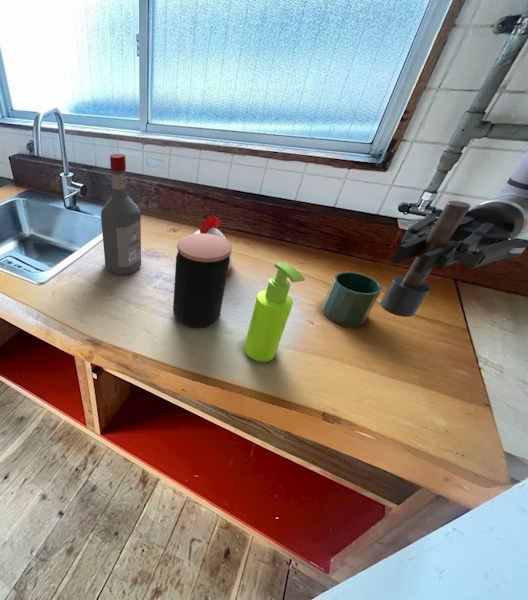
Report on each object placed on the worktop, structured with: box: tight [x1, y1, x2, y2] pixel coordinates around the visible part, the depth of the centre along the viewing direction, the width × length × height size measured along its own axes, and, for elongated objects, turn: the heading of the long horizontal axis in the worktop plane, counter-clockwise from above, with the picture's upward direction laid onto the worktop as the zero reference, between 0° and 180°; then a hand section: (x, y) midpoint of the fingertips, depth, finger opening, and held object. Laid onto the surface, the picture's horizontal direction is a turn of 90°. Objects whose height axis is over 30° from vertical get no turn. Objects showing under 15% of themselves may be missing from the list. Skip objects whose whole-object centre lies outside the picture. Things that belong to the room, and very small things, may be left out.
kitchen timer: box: [193, 214, 232, 275], centre depth 86 cm, size 14×14×15 cm
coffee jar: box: [172, 233, 233, 329], centre depth 69 cm, size 11×11×18 cm
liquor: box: [100, 153, 142, 276], centre depth 84 cm, size 9×9×30 cm
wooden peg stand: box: [379, 200, 472, 318], centre depth 49 cm, size 5×5×18 cm
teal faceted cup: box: [321, 271, 383, 327], centre depth 70 cm, size 9×9×8 cm
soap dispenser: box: [243, 261, 306, 363], centre depth 58 cm, size 6×7×20 cm
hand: (410, 259), depth 46 cm, fingers closed on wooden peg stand, 2 cm apart
